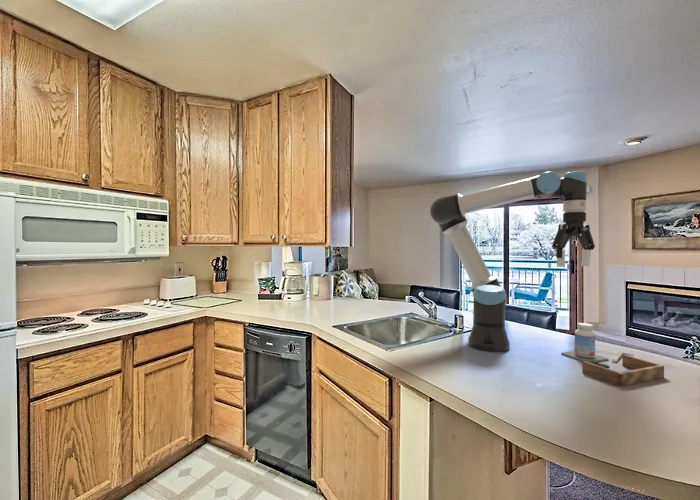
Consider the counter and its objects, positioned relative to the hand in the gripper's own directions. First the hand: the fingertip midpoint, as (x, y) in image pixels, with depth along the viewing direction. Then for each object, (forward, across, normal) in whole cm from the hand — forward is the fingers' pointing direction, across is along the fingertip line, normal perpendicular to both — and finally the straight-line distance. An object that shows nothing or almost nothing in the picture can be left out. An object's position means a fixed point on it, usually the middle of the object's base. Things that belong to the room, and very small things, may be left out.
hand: (573, 266), depth 133 cm
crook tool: (+32, +4, -16) cm, 36 cm away
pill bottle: (+31, -7, -10) cm, 34 cm away
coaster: (+32, -7, -10) cm, 34 cm away
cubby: (+32, -12, -25) cm, 42 cm away
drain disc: (+32, -10, -18) cm, 38 cm away
